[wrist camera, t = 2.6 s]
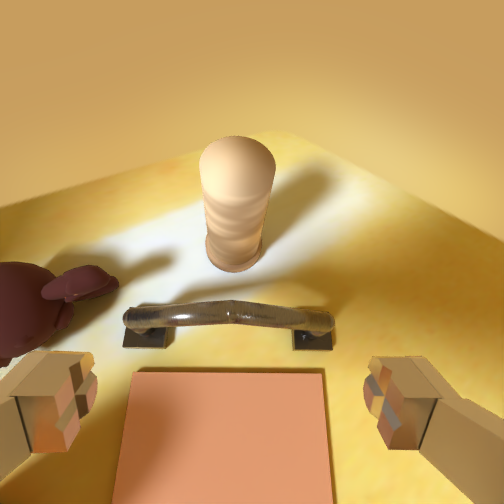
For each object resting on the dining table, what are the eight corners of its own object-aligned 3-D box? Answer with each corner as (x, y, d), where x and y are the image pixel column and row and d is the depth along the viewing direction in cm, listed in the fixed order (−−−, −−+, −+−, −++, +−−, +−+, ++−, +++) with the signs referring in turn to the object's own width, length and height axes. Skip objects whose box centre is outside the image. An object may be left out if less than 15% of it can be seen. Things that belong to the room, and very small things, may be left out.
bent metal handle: (125, 348, 22) (84, 332, 16) (132, 309, 24) (96, 280, 17) (329, 351, 24) (368, 337, 17) (325, 314, 25) (361, 288, 18)
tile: (108, 542, 18) (104, 547, 17) (135, 372, 22) (133, 371, 21) (332, 535, 19) (336, 540, 18) (319, 374, 23) (321, 373, 22)
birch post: (204, 271, 26) (189, 198, 16) (207, 222, 28) (197, 129, 18) (260, 273, 26) (282, 202, 16) (260, 224, 28) (279, 135, 18)
